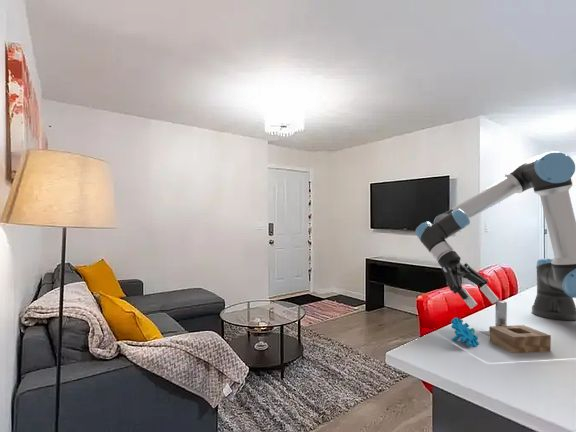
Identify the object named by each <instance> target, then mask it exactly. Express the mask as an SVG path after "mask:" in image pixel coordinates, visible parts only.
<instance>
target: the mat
mask: <svg viewBox="0 0 576 432" xmlns="http://www.w3.org/2000/svg"><path fill="white" fill-rule="evenodd" d="M479 333H481V334H484V335H485V336H488V338H490V330H483V331H482V330H481V331H479Z"/></svg>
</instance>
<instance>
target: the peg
mask: <svg viewBox="0 0 576 432" xmlns="http://www.w3.org/2000/svg"><path fill="white" fill-rule="evenodd" d="M507 303H508V302H506V301H505V300H497V301H496V302H495V314H494V315H495V326H508V323H507V322H508V321H507V320H508V319H507V317H508V315H507V314H508V313H507V311H508V310H507V309H508V307H507V305H508V304H507Z"/></svg>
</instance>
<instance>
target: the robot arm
mask: <svg viewBox="0 0 576 432" xmlns="http://www.w3.org/2000/svg"><path fill="white" fill-rule="evenodd" d="M575 172H576V164H575V161H574V160H573V158H572V157H571V156H570V155H568V154H566V153H564V152H561V151H549V152H544V153H542V154H539V155H536V156H534V157H531V158H527V160H526V161H523V162H522V163H520V165H518V166H516V167H515V168H514V169H511V171H509V172H507V173H505V175H504V178H503V177H502V179H500V180H498V181H497V182H494V183H493V184H492V185H490V186H488V187H486V188H485V189H483V190H481V191H480V192H478V193H476V194H474V195H473V196H471V197H469V198H468V199H466V200H464V201H462V202H460V203H459V204H457V205H455V206H453V207H452V208H450V209H449V210H447V211H445V212H443V213H439V215H437V216H436V217H435V218H434V220H433V222H432V223H431V222H430V221H425V222H422V223H420V224H419V225H418V226H417V227H416V228H415V235H416V236H417V239H419V241H420V242H421V243H422V245H423V246H424V247H425V248H426V249H427V250H428V252H429V253H430V254H431V256H432V257H433V259H434V260H435V261H436V262H437V263H438V265H439V266H440V267H441V272H442V273H443V275H444V278H445V280H446V282H447V285H448V288H449V290H450V291H451V292H453V293H454V294H455V295H456V294H458V295H459V296H460V297H461V299H462V300H463V301H464V302H465V304H466V306H468V307H469V309H470V310H471V309H473V308H475V307H476V306H477V305H478V302H476V300H475V299H474V298H473V296H471V294H470V293H469V292H468V290H467V289H466V288H465V287H463V284H462V279H466V280H468V281H469V282H471V283H473V284H474V285H476V286H477V287H480V288H479V290H480V291H481V292H482V294H484V296H485V297H486V298H487V299H488V301H489V302H490V303H491V304H492V305H493V304H496V301H500V298H499V297H498V296H497V295H496V294H495V293H494V292H493V290H492V289H491V288H490V287H489V286H488V285H487V284H488V283H489V281H488V279H486V278H485V277H484V276H482V275H481V274H480V273H479V272H477V270H475V269H474V268H472V267H471V266H470V265H469V264H468V263H467V262H465V263H464V264H462V263H461V256H460V255H459V254H458V253H457V252H456V251H455V250H454V248H453V247H452V246H451V245H450V244H449V242H448V241H447V239H448V238H450V237H451V236H453V235H454V234H457V233H458V232H460V231H461V230H464V229H465V228H466V227H468V226H469V225H470V223H471V219H472V218H474V217H476V216H477V215H480V214H482V213H483V212H484V211H486V210H488V209H490V208H492V207H494V206H495V205H497V204H499V203H500V202H502V201H505V200H506V199H508V198H509V197H511V196H514V194H522V193H523V192H525V191H527V190H529V189H533V192H534V193H535V194H537V195H538V196H540V201H541V205H542V209H543V213H544V218H545V222H546V225H547V226H546V227H547V230H548V234H549V238H550V243H551V248H552V251H553V255H554V256H553V257H554V258H539V259H538V260H537V261H536V267H535V268H536V296H535V298H534V303H533V305H531V313H532V314H534V315H536V316H539V317H542V318H547V319H553V320H561V321H576V303H575V301H574V299H576V216H575V213H574V208H573V204H572V200H571V196H570V189H571V188H572V187H573V180H572V177H573V176H574V174H575ZM461 278H462V279H461Z"/></svg>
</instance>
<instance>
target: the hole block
mask: <svg viewBox="0 0 576 432" xmlns="http://www.w3.org/2000/svg"><path fill="white" fill-rule="evenodd" d="M489 331H490V337H489V342H490V343H492V344H494V345H496V346H498V347H500V348H502V349H504V350H506V351H508V352H510V353H513V354H525V353H542V352H546V353H547V352H551V351H552V347H551V346H552V344H551V341H552V340H551V339H552V337H551V336H552V335H550V334H548V333H546V332H543V331H540V330H537V329H534V328H532V327H529V326H527V325H525V324H517V325H516V324H515V325H507V326H490V325H489Z"/></svg>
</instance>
